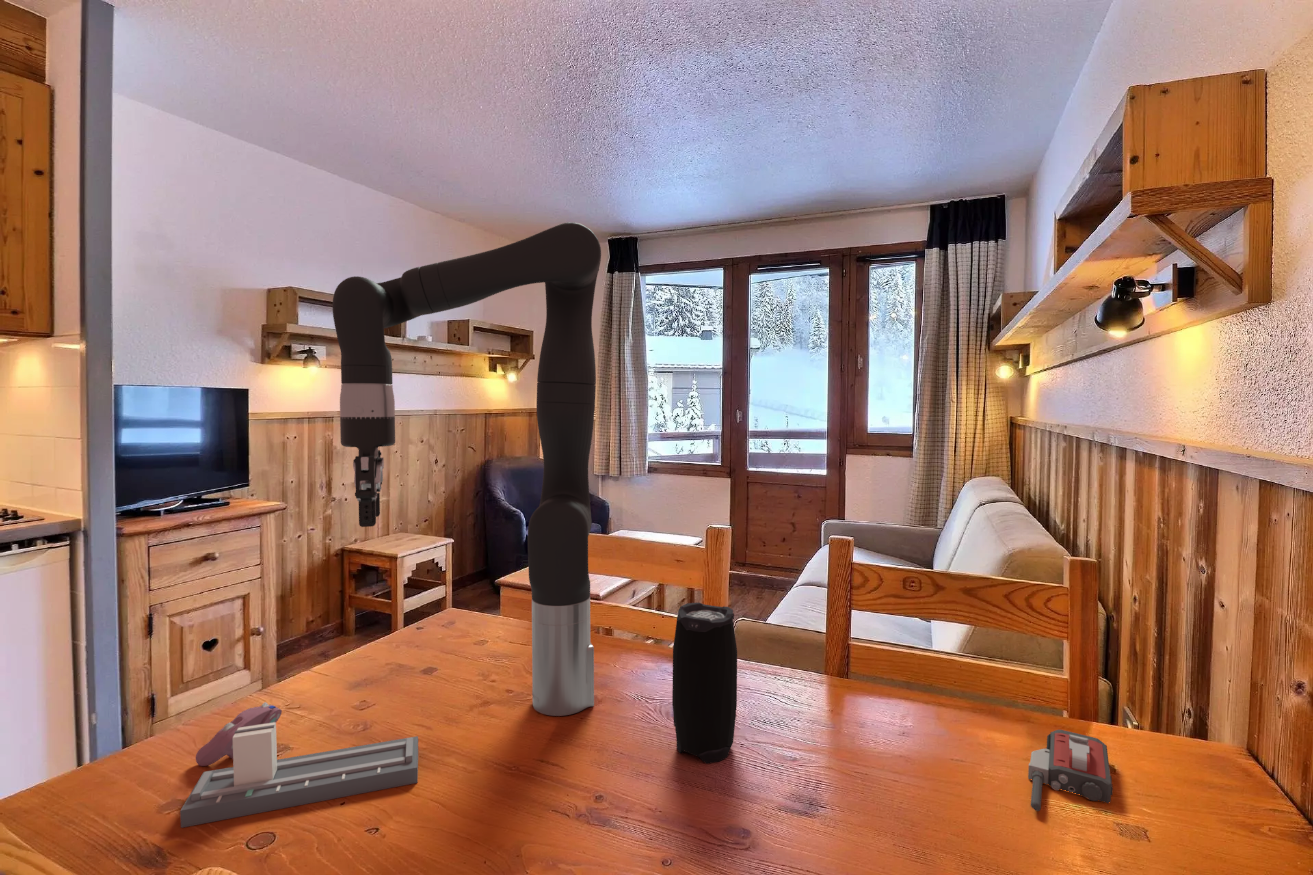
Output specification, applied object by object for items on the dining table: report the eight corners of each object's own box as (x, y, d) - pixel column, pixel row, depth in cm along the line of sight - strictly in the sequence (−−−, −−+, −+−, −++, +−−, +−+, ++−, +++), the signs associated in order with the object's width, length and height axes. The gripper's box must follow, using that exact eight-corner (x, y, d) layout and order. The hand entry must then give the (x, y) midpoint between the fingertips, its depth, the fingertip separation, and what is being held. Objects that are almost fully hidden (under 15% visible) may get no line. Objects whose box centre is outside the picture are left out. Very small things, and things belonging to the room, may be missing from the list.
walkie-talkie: (1032, 740, 91) (1024, 816, 74) (1033, 710, 91) (1025, 779, 74) (1107, 758, 86) (1116, 844, 69) (1108, 727, 86) (1118, 805, 69)
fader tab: (277, 768, 79) (276, 720, 79) (273, 779, 77) (271, 730, 76) (239, 775, 77) (237, 726, 77) (233, 786, 75) (232, 736, 75)
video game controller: (215, 782, 82) (234, 738, 81) (188, 763, 83) (207, 719, 82) (275, 742, 92) (292, 703, 91) (251, 726, 93) (268, 686, 92)
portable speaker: (744, 739, 90) (746, 605, 89) (720, 773, 82) (722, 626, 81) (689, 725, 94) (690, 596, 93) (661, 756, 86) (662, 615, 85)
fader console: (418, 750, 87) (417, 730, 87) (417, 782, 80) (417, 761, 80) (204, 787, 79) (203, 765, 78) (180, 827, 71) (180, 803, 71)
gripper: (392, 415, 89) (394, 528, 90) (396, 413, 103) (398, 512, 104) (333, 415, 87) (336, 531, 88) (345, 414, 100) (348, 515, 101)
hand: (370, 521), depth 96 cm, fingers open, 8 cm apart
